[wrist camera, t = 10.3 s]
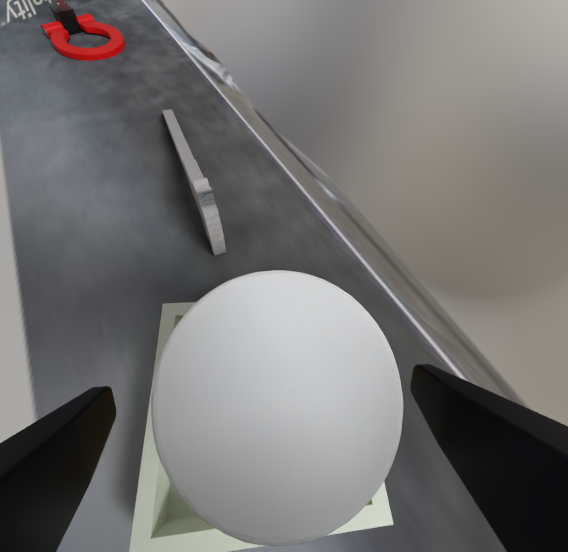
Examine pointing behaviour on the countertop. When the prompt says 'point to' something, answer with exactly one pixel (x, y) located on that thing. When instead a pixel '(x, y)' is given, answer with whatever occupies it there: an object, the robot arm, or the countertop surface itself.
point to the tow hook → (72, 25)
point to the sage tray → (173, 509)
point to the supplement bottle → (276, 408)
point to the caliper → (197, 186)
